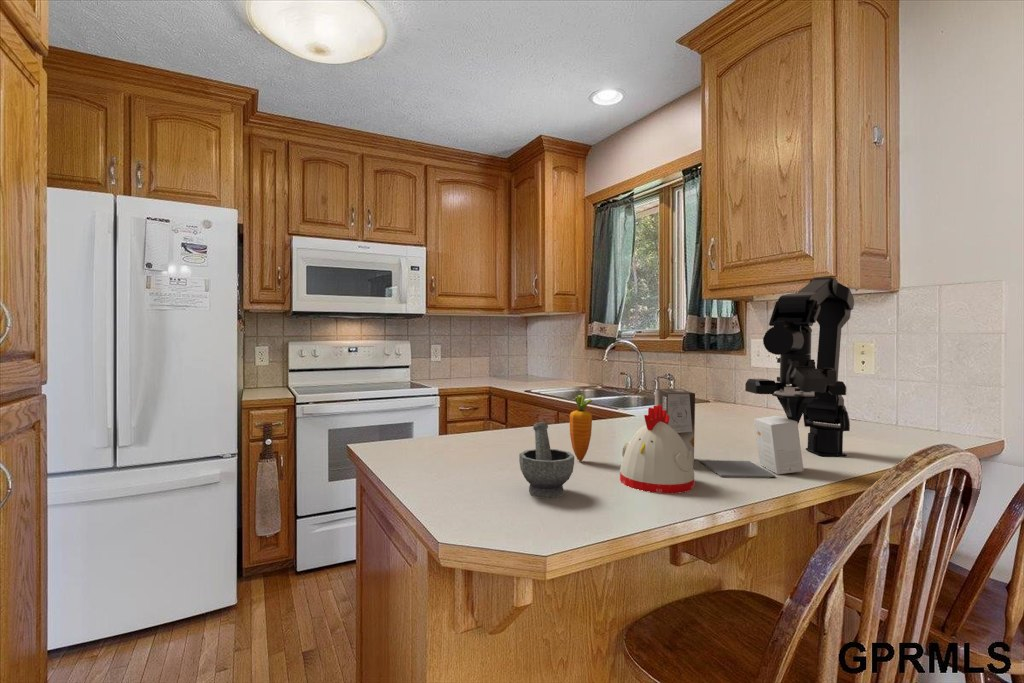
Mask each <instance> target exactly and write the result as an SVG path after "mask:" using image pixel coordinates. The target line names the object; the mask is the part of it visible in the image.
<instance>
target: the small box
mask: <svg viewBox="0 0 1024 683" xmlns="http://www.w3.org/2000/svg"><path fill="white" fill-rule="evenodd" d="M753 421H754V427H755V435H756V442H757V443H756V444H757V450H758V451H757V452H758V460H759V465H760V466H761V465H762V467H763V466H764V467H763V468H765V467H766V468H765V469H767V470H768V469H769V471H770V470H771V471H770V472H772V471H773V473H774V472H775V473H774V474H775V475H784V474H791V473H799V472H804V464H803V457H802V456H803V455H802V454H803V453H802V446H801V441H800V433H799V423H798V422H797V421H794V420H790V419H788V418H787V417H783V416H781V415H774V416H772V415H771V416H766V417H757V418H753Z"/></svg>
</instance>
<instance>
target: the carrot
mask: <svg viewBox="0 0 1024 683" xmlns="http://www.w3.org/2000/svg"><path fill="white" fill-rule="evenodd" d="M585 400H586V396H585V395H581V394H579V395H577V396H576V397H575V398H574V401H575V403H576V406H577V409H576V410H573V411H571V412H570V414H569V435H570V442H571V446H572V447H571V448H572V450H573V453H574V455H575V457H576V460H577V461H578V462H580V461H581V462H582V461H583V460H584V459H585V457H586V455H587V452H588V450H589V446H590V442H591V437H592V425H593V415H592V413H591V412H590V411H588V410H585V409H586V407H587V406H588V405H589V404H590V403H592V402H593V400H592V399H591V398H590V399H588V400H586V401H585Z"/></svg>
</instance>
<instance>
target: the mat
mask: <svg viewBox="0 0 1024 683" xmlns="http://www.w3.org/2000/svg"><path fill="white" fill-rule="evenodd" d="M699 462H700V464H702V463H703V464H704V466H705V465H706V466H707V467H706V466H705V467H706V468H708V469H709V468H710V469H711V470H710V469H709V470H710V471H712V472H713V471H714V472H715V473H714V472H713V473H714V474H716V473H717V474H718V475H717V474H716V475H717V476H718V477H720V476H721V477H720V478H750V477H777V476H776V474H773V473H771V471H770V472H769V471H768V470H766V469H765V468H764V467H761V466H759V465H758V464H756V463H753V462H752V461H751V460H718V459H717V460H714V459H713V460H712V459H711V460H710V459H706V460H704V459H700V460H699ZM703 464H702V465H703Z"/></svg>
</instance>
